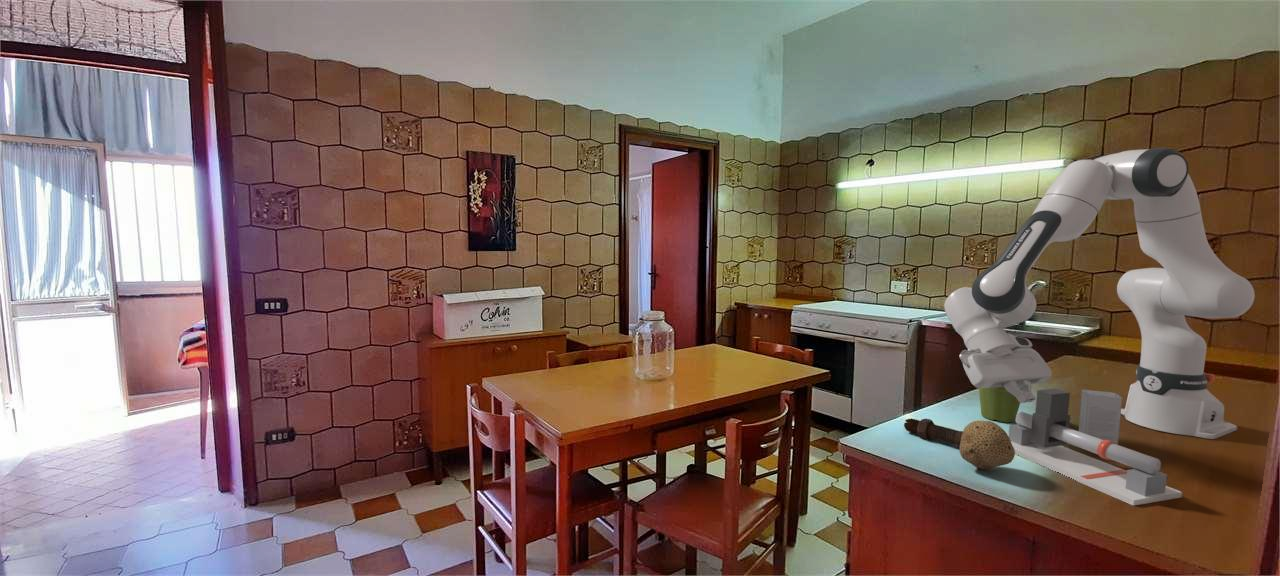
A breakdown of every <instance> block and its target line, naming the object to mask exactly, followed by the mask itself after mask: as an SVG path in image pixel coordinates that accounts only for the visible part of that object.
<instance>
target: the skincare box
mask: <svg viewBox="0 0 1280 576" xmlns="http://www.w3.org/2000/svg"><path fill="white" fill-rule="evenodd" d="M1122 401H1123V397H1121V396H1120V395H1119V394H1118V393H1116V392H1111V391H1100V390H1091V389H1090V390H1089V389H1082V390H1081V399H1080V410H1079V411H1080V412H1079V419H1078V420H1079V423H1078V431H1079V432H1082V433H1085V434H1087V435H1090V436H1093V437H1096V438H1099V439H1102V440H1109V441H1112V442H1115V443H1116V444H1117V445H1119V438H1120V437H1119V435H1120V425H1121V415H1122V414H1121V409H1122V404H1123V403H1122Z"/></svg>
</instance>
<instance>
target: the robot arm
mask: <svg viewBox="0 0 1280 576" xmlns="http://www.w3.org/2000/svg"><path fill="white" fill-rule="evenodd" d="M1129 199H1131V200H1132V202H1133V211H1134V218H1135V219H1134V220H1135V225H1136V231H1137V237H1138V242H1139V248H1140V249H1141V251H1142V252H1143V253H1144V254H1145V255H1146V256H1148V257H1150V258H1152V259H1153V260H1155V261H1157V263H1158V264H1160V265H1161V266H1162V267H1146V268H1145V267H1144V268H1137V269H1130V270H1128V271H1126V272H1125V273H1124V274H1123V275H1122V276H1121V277H1120V278H1119V280H1118V282H1117V285H1116V294H1117V296H1118V298H1119V299H1120V301H1121V302H1122V303H1124V305H1126V306H1127V307H1128V308H1129V309H1130V311H1131V312H1132V313H1133V315H1134V317H1135V319H1136V321H1137V324H1138V327H1139V330H1140V335H1141V337H1140V338H1141V347H1140V349H1141V350H1140V351H1141V352H1140V361H1139V364H1138V365H1137V368H1136V370H1135V374H1136V375H1135V379H1136V381H1135V382H1133V383H1132V384H1130V385H1129V390H1128V395H1127V399H1126V403H1125V408H1121V415H1123V416H1124V418H1125V420H1127V421H1128V422H1131V423H1133V424H1136V425H1138V426H1140V427H1145V428H1147V429H1151V430H1155V431H1160V432H1165V433H1171V434H1176V435H1183V436H1190V437H1191V436H1192V437H1198V438H1203V439H1209V440H1215V439H1218V438H1220V437H1224V436H1225V435H1228V434H1231V433H1233V432H1235V431H1237V430H1238V426H1237V425H1236V424H1233V423H1231V422H1229V421H1225V420H1224V417H1225V405H1224V404H1223V403H1222V401H1220V400H1219V399H1218V398H1217V397H1216V396H1214V395H1213V394H1212V393H1211V392H1210V391H1209V390H1208V388H1209V387H1208V383H1213V382H1214V381H1215V379H1216V376H1215V374H1213V373H1206V372H1204V370H1205V363H1206V355H1207V343H1206V340H1205V339H1204V338H1203V337H1202V336H1201V335H1200V334H1198V333H1197V332H1195V331H1194V330H1193V329H1192V328H1191V327H1190V326H1189V324H1188V322H1187V321H1186V317H1185V316H1187V317H1194V318H1195V317H1196V318H1201V319H1202V318H1203V319H1233V318H1237V317H1240V316H1242V315H1244V314H1245V313H1246V312H1247V311H1249V310H1250V309H1251V307H1252V305H1254V301H1255V298H1256V296H1255V289H1254V287H1253V285H1252V284H1251V282H1250V281H1249V280H1248V279H1247V278H1245V277H1243V276H1241V275H1239V274H1238V273H1236V272H1234V271H1232V269H1230V268H1229V267H1228V266H1226V265H1225V263H1223V262H1222V261H1221V260H1220V258H1219V257H1218V256H1217V254H1215V253H1214V251H1213V249H1212V248H1211V245H1210V244H1209V241H1208V239H1207V235H1206V230H1205V226H1204V221H1203V216H1202V209H1201V204H1200V200H1199V196H1198V192H1197V190H1196V187H1195V185H1194V182H1193V180H1192V178H1191V176H1190V174H1189V163H1188V161H1187V159H1186V157H1185V156H1184V155H1183V154H1182V153H1181V152H1180V151H1178V150H1177V149H1174V148H1168V147H1153V148H1150V149H1149V148H1146V149H1131V150H1124V151H1121V152H1117V153H1115V152H1114V153H1111V154H1107V155H1097V156H1095V157H1092V158H1089V159H1078V160H1076V161H1073V162H1071V163H1069V164H1068V165H1067V166H1066V167H1065V168H1064V169H1063V170H1062V171H1061V172H1060V173H1059V175H1058V176H1057V177H1056V178H1055V180H1054V181H1053V182H1051V184H1050V186H1049V187H1048V188H1047V189H1046V192H1045V193H1044V195H1043V196H1042V198H1041V199H1040V201H1039V202H1038V204H1037V205H1036V207H1035V208H1034V211H1033V212H1032V214H1031V215H1030V216H1029V217H1028V218H1027V219H1026V221H1025V222H1024V223H1023V224H1022V226H1021V227H1020V229H1019V230H1018V231H1017V232H1016V234H1015V235H1014V236H1013V238H1012V239H1011V241H1010V242H1009V243H1008V245H1007V246H1006V248H1005V249H1004V251H1003V252H1001V255H1000V256H999V257H998V258H997V260H996V261H995V262H994V263H992V264H991V265H989V266H988V268H986V269H985V270H983V271H982V272H981V273H980V274H978V276H977V277H976V278H975V279H974V281H973V283H972V286H971V287H968V286H963V287H960V288H957V289H955V290H954V291H952V292H951V293H950V294H949V295H948V296H947V297H946V299H945V301H944V304H943V306H944V307H943V308H944V311H945V314H946V317H947V319H948V320H949V322H950V323H951V325H952V327H953V329H954V330H955V332H956V333H958V335H960V337H961V338H962V339H963V343H964V345H965V347H966V348H967V349H963V350H961V352H960V353H959V359H960V360H961V363H962V366H963V369H964V371H965V375H966V376H967V377H968V379H969V381H970V383H971V384H972V385H973V386H974V387H975V388H976V389H978V390H979V389H980V388H992V387H1003V386H1004V387H1005V389H1006V390H1007V391H1008V392H1009V393H1011V394H1012V395H1014V396H1015V397H1016V398H1017V400H1018V401H1019V402H1020V404H1023V403H1024V404H1025V403H1032V402H1034V401H1035V400H1036V396H1035V395H1034V394H1033V391H1032V385H1034V384H1035V385H1037V384H1043V383H1044V382H1047V381H1048V380H1050V378H1052V377H1053V375H1052V370H1051V368H1050V366H1049V365H1048V363H1046V361H1045V359H1044V358H1043V357H1042V355H1040V353H1039V352H1037V350H1035V349H1033V348H1032V347H1033V343H1032V341H1030V340H1029V339H1028V338H1026V337H1021V336H1017V335H1015V334H1011V333H1009V332H1007V331H1006V330H1005V329H1006V328H1010V327H1013V326H1016V325H1018V324H1019V325H1020V324H1022V323H1025V322H1026V321H1029V320H1030V319H1031V318H1032V317H1033V316H1034V314H1035V313H1036V310H1037V309H1038V307H1037V306H1038V302H1037V299H1036V297H1035V295H1034V294H1033V293H1032V291H1031V290H1030V289H1029V288H1028V287H1027V276H1028V274H1029V271H1030V270H1031V269H1032V268H1033V266H1034V264H1035V263H1036V262H1037V261H1038V260H1039V258H1040V256H1041V254H1042V253H1043V252H1044V251H1045V249H1046V248H1047V247H1048V246H1049V245H1050V244H1052V243H1055V242H1056V243H1057V242H1059V243H1060V242H1068V241H1069V242H1070V241H1073V240H1075V239H1077V238H1079V237H1080V236H1082V234H1084V232H1085V231H1086V230H1087V229H1088V228H1089V227H1090V225H1092V223H1093V221H1094V220H1095V218H1096V217H1097V215H1098V213H1099V212H1100V210H1101V208H1102V206H1103V204H1104V203H1105V201H1106V200H1114V201H1115V200H1116V201H1117V200H1129ZM1020 389H1021V390H1022V391H1021V390H1020Z"/></svg>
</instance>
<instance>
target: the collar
mask: <svg viewBox="0 0 1280 576" xmlns="http://www.w3.org/2000/svg"><path fill="white" fill-rule="evenodd" d="M1036 391H1037V393H1036V402H1035V412H1034V413H1032V415H1033V417H1032V428H1031V439H1030V442H1031V443H1034V444H1036V445H1039V446H1041V447H1044V448H1046V447H1054V446H1068V444H1069V443H1066V442H1063V441H1061V440H1058V439H1055V438H1053V437H1050V436H1049V430H1050V422H1053V423H1056V424H1059V425H1062V426H1064V427H1067V428H1070V422H1071V421H1070V420H1071V415H1070V414H1069V408H1070V407H1069V406H1070V396H1071V392H1068V391H1066V390H1065V391H1064V390H1061V389H1058V388H1047V389H1037V390H1036Z"/></svg>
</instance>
